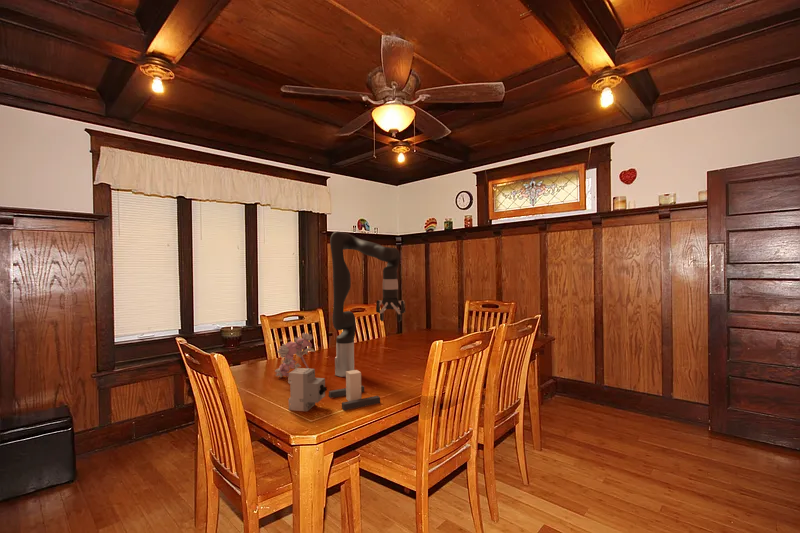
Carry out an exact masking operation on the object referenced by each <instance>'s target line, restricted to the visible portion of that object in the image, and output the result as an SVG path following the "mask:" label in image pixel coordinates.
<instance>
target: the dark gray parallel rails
mask: <svg viewBox="0 0 800 533" xmlns="http://www.w3.org/2000/svg"><path fill="white" fill-rule="evenodd" d="M361 393H365V385H363V384H361ZM344 396H345V397H346V387H345V388H339V389H333V390H328V397H329V398H330V399H334V398H339V397H344ZM380 403H381V397H380V396H379V395H375V396H369V397H364V398H361V399H358V400H353V401H348V400H347V401H343V402H341V409H342V411H349V410H353V409H358V408H363V407H367V406H372V405H377V404H378V405H379V404H380ZM348 409H349V410H348Z"/></svg>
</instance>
